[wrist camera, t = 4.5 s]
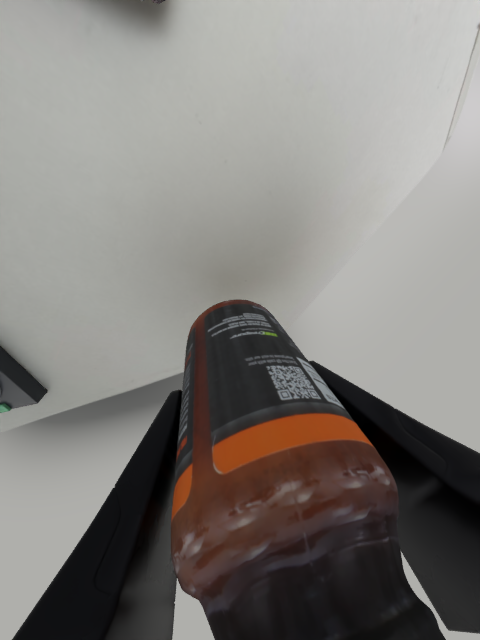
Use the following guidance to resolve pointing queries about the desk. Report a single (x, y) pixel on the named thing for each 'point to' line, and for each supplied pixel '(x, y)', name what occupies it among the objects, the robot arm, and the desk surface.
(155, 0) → the rock
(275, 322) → the supplement bottle
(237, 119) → the desk surface
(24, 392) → the scale
